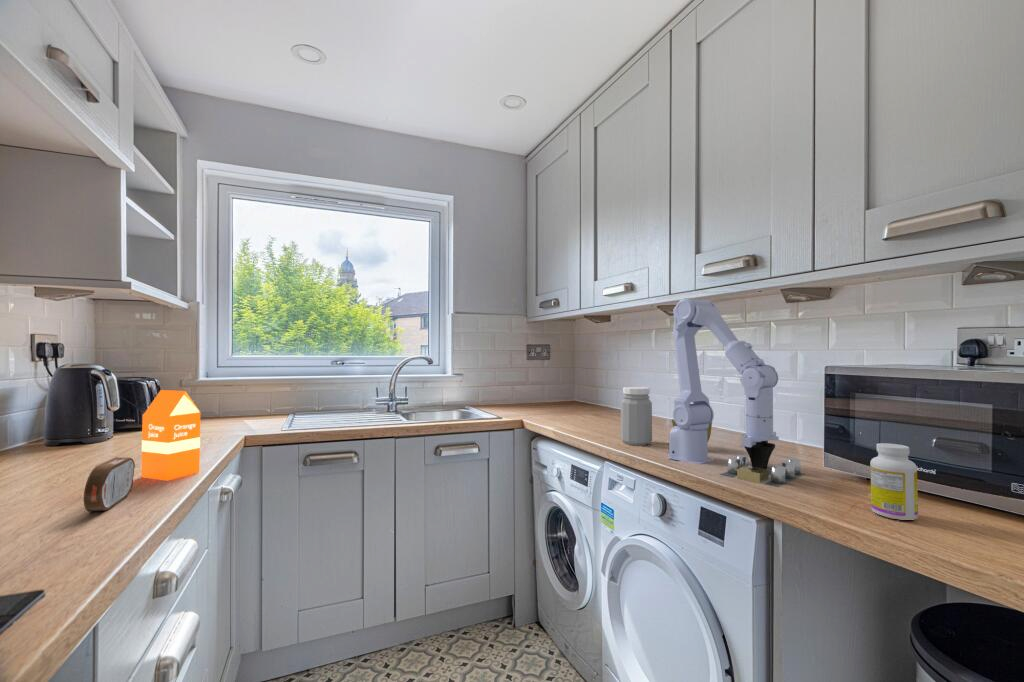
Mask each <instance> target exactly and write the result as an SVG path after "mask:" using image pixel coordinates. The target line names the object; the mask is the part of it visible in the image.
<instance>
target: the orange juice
mask: <svg viewBox="0 0 1024 682" xmlns="http://www.w3.org/2000/svg"><path fill="white" fill-rule="evenodd" d="M141 426H142V430H141V432H142V434H141V436H142V437H141V470H140V471H141V473H140V474H141V475H140V476H141V477H140V478H144V479H154V480H161V481H172V480H175V479H179V478H184V477H186V476H190V475H191V476H192V475H194V474H195V475H196V474H198V473H200V456H201V454H200V453H201V411H200V409H199V408H198V407H197V405H196V404H195V403H194V401H193V400H192V398H191V397H190V396H189V394H188V392H187V391H186V390H168V389H167V390H165V389H160V390H159V392H158V393H157V395H156V396H155V398H154V399H153V400H152V402H151V403H150V405H149V406H148V407H147V409H146V410H145V411H144V413H142V425H141Z"/></svg>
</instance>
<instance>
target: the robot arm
mask: <svg viewBox="0 0 1024 682" xmlns="http://www.w3.org/2000/svg"><path fill="white" fill-rule="evenodd" d="M720 312H721V311H720V308H718V306H716V305H715V303H714V302H713V301H712V300H709V299H705V300H704V299H703V300H702V299H692V298H691V299H690V298H682V299H680V300H679V301H678V302H677V304H676V305H675V306H674V308H673V310H672V313H673V320H674V322H673V328H672V335H673V345H674V349H675V350H674V351H675V359H676V367H677V368H676V369H677V373H678V375H677V376H678V381H679V382H678V384H679V391H680V393H679V395H678V396H677V397H676V398H675V399H674V400H673V404H674V406H673V411H672V417H673V419H674V421H675V423H676V424H677V425H678V426H674V427H673V426H672V427H671V429H670V432H669V443H668V444H669V445H668V446H669V447H668V448H669V452H668V454H669V455H668V456H667V459H670V460H675V461H679V462H681V461H683V462H687V463H691V464H697V465H703V464H705V463H708V462H712V461H715V458H712V457H709V456H708V453H709V452H708V443H707V428H709V424H710V423H711V422H712V423H713V420H714V419H715V418H714V415H715V413H714V410H713V408H712V406H711V404H710V399H709V397H708V396H707V395H706V394H705V393H704V392H703V391H702V384H701V376H700V375H701V374H700V370H699V368H700V367H699V362H698V353H697V346H696V338H695V335H696V334H697V333H698V332H699V331H700V330H701V329H703V328H704V327H706V328H707V329H708V330H709V331H710V332H711V333H712V334H713V336H715V338H716V339H717V340H718V341H719V342H720V343H721V344H722V346H724V348H725V352H724V355H725V357H726V358H727V359H728V360H729V362H730V363H731V364H732V366H733V367H734V368H735V370H737V372H738V373H739V374H740V376H739V381H740V384H741V385H742V387H743V389H744V395H745V433H744V436H743V437H741V447H744V449H745V450H746V452H747V454H748V458H750V459H749V460H750V464H752V467H757V468H762V469H767V467H769V466H768V465H769V461H770V458H771V456H772V453H773V451H774V450H775V448H776V444H775V443H772V442H769V441H779V436H778V435H777V431H774V388H775V387H776V386H777V384H778V382H779V375H778V372H777V371H776V368H775V367H773V366H772V365H769V364H765V360H763V359H762V358H760V357H759V356H758V355H757V353H756V352H755V351H754V349H752V348H753V345H752V344H751V343H750V342H746V341H745V340H739V339H738V338H737V336H736V335H735V334H734V332H733V331H732V329H731V328H730V327H729V325H728V324H727V322H726V321H725V320H724V318H723V317H722V315H721V313H720Z"/></svg>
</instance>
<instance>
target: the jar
mask: <svg viewBox="0 0 1024 682" xmlns="http://www.w3.org/2000/svg"><path fill="white" fill-rule="evenodd" d="M650 389H651V388H650V387H647V386H624V387H622V393H623V394H624V395H622V398H623V399H622V400H621V401H620V440H621V441H622V443H624V444H625V445H628V444H630V445H629V446H636V445H644V446H648V445H650V444H651V442H652V441H653V406H652V405H653V402H652V401H651V399H650V397H651V396H650V394H651V392H650ZM647 444H648V445H647Z"/></svg>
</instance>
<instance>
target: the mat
mask: <svg viewBox="0 0 1024 682" xmlns="http://www.w3.org/2000/svg"><path fill="white" fill-rule="evenodd" d="M750 464H751V465H752V463H750ZM767 469H768V470H769V479H768V480H766V481H764V482H762V483H759V484H761V485H764V486H771V487H775V488H780V487H781V486H784V485H785V484H787V483H790V482H792V481H794V480H796V479H798V478H800V477H802V476H805V475H806V473H803V472H801V474H800V475H795V479H785V484H776V483H772V482H771V466H767ZM719 476H723V477H729V478H733V479H738V478H737V475H733V474H729V473H728V471H726V472H721V473H719ZM738 480H739V479H738ZM745 481H747V480H745ZM747 482H748V481H747ZM750 482H751V483H753V482H752V481H750ZM755 483H757V482H755ZM757 484H758V483H757Z"/></svg>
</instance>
